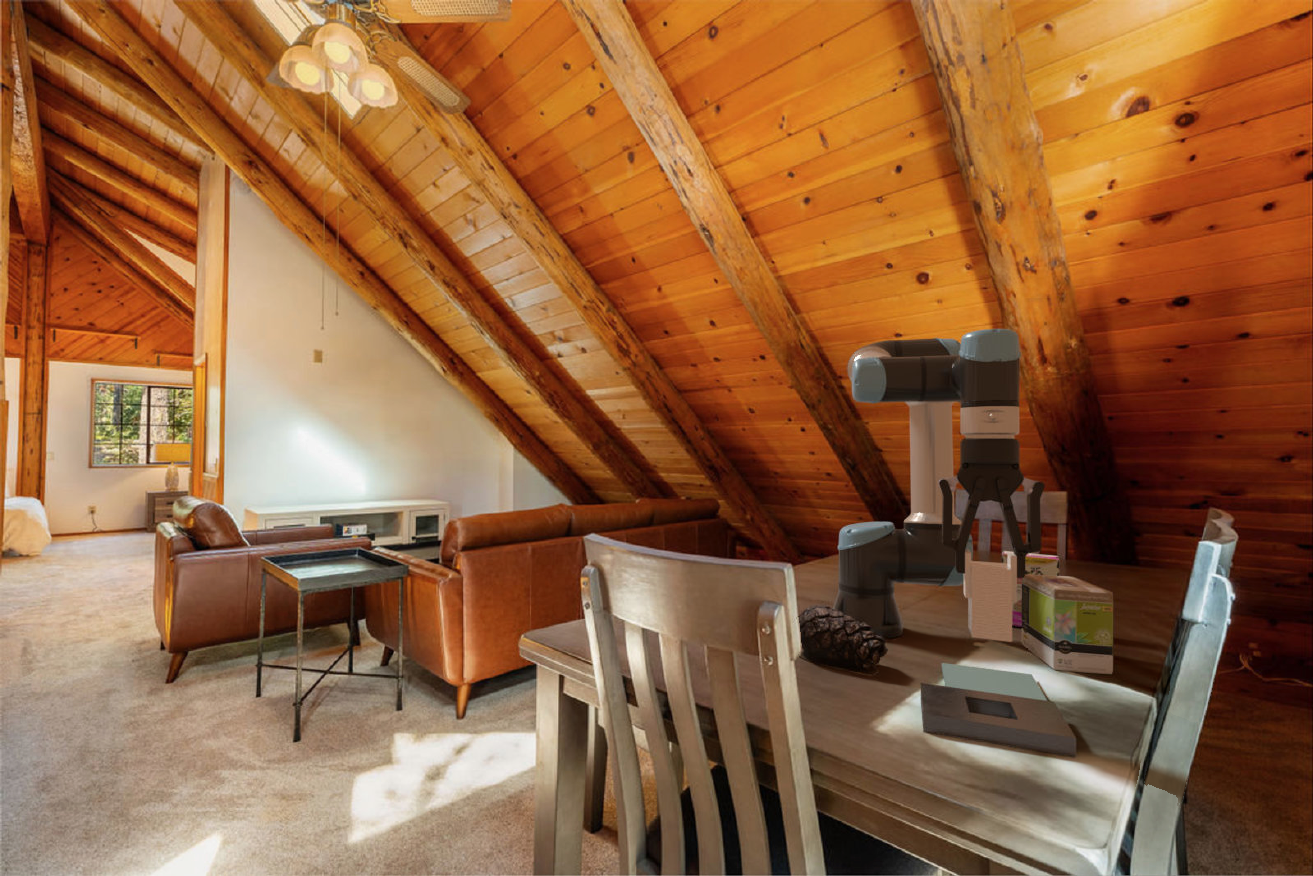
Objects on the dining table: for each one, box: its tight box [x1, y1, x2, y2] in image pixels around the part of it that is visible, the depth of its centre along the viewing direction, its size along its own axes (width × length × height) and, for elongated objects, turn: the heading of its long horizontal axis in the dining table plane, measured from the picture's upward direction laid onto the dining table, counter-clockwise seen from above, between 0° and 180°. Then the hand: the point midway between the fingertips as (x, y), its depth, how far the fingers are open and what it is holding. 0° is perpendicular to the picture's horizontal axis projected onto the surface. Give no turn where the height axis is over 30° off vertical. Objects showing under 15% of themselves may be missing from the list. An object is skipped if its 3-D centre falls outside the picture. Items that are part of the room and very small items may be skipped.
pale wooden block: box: [967, 560, 1013, 643], centre depth 86 cm, size 5×5×10 cm
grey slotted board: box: [920, 682, 1077, 758], centre depth 86 cm, size 18×12×2 cm, turn 68°
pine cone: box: [797, 604, 889, 677], centre depth 111 cm, size 10×18×10 cm, turn 53°
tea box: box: [1020, 574, 1114, 675], centre depth 114 cm, size 15×10×15 cm, turn 168°
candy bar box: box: [1000, 550, 1060, 628], centre depth 134 cm, size 11×5×16 cm, turn 58°
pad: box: [941, 662, 1048, 701], centre depth 100 cm, size 14×12×1 cm
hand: (989, 597), depth 86 cm, fingers closed on pale wooden block, 5 cm apart
